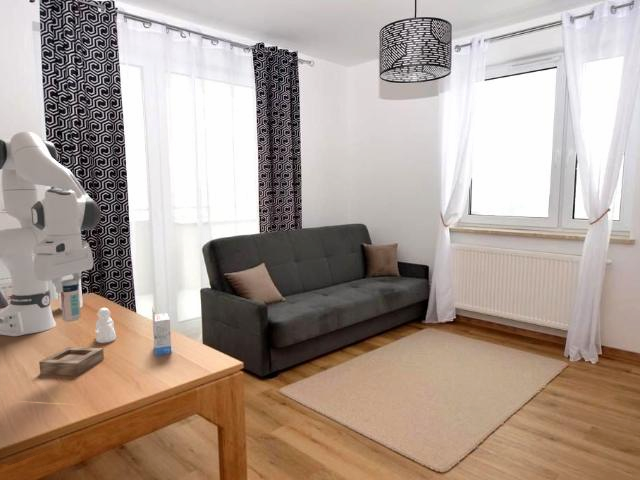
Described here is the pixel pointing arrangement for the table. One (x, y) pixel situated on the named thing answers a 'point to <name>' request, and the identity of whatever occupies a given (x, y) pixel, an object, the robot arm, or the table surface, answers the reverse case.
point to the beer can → (70, 300)
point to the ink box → (161, 333)
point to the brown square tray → (71, 361)
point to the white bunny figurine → (105, 327)
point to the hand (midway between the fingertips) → (68, 289)
